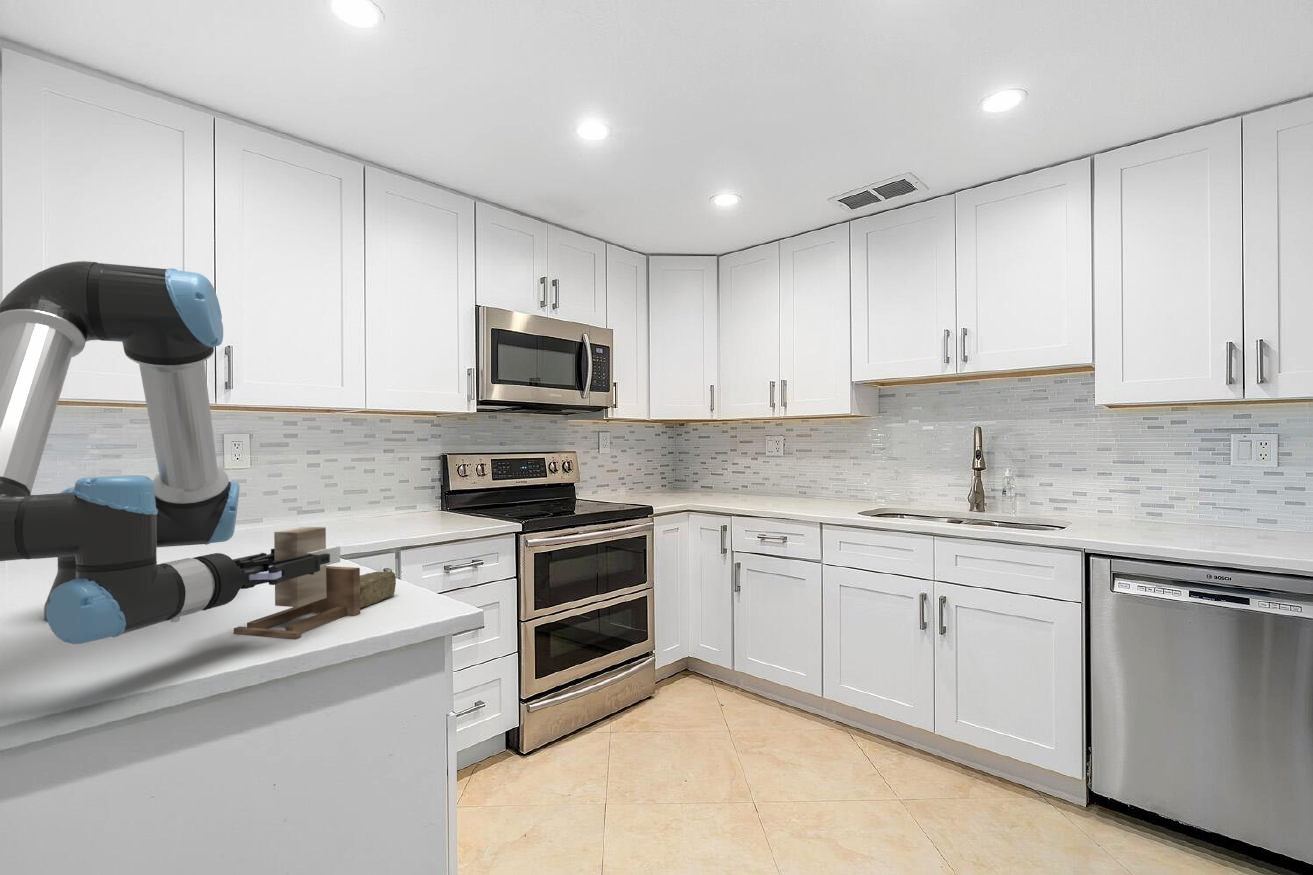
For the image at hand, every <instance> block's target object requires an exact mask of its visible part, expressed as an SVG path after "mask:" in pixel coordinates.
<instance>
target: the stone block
mask: <svg viewBox="0 0 1313 875" xmlns="http://www.w3.org/2000/svg"><path fill="white" fill-rule="evenodd" d="M396 578H397V576H396V573H395V572H393V571H373V572H368V573H364V574H361V575H360V609H363V608H365V607H366V608H367V607H369V606H371V605H373V604H377V603H379V602H381V600H382V601H384V600H386V598H387V599H389V598H391V597H393V596H394V595H395V592H396V580H397V579H396ZM383 599H384V600H383Z"/></svg>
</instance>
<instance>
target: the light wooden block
mask: <svg viewBox="0 0 1313 875" xmlns="http://www.w3.org/2000/svg"><path fill="white" fill-rule="evenodd" d="M326 530H327V528H326V527H324V526H322V527H321V526H318V527H317V526H301V527H297V528H289V529H285V530H284V529H283V530H279V531H278V530H277V531H274V532H273V533H274V535H273V536H274V537H273V539H274V544H273V545H274V546H273V547H274V548H273V549H274V552H275V560H281V559H287V558H292V557H298V556H303V555H307V553H309V552H314V551H318V550H322V549H327V545H326V544H327V535H326V534H327V531H326ZM325 598H327V593H326V566H323V567H320V571H318V572H314V574H313V575H311V574H307V575H303V576H300V577H296V578H292V579H289V580H285V581H282V582H280V583H278V584H275V585H274V606H275V607H287V608H288V607H289V608H292V607H300V606H303V605H306V604H309V603H312V602H315V601H318V600H322V599H325Z"/></svg>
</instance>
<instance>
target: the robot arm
mask: <svg viewBox="0 0 1313 875" xmlns="http://www.w3.org/2000/svg"><path fill="white" fill-rule="evenodd" d="M222 319H223V315H222V311H221V307H220V301H219V298H218V295H217V292H216V290H215V288H214V286H213V284H212V283H211V281H210V280H209V278H207V277H206V276H205V275H203V274H201V273H198V272H192V271H185V270H184V271H183V270H178V269H176V268H159V267H150V266H149V267H148V266H137V265H136V266H135V265H123V264H113V263H103V262H98V261H97V262H96V261H85V260H84V261H82V260H81V261H80V260H79V261H70V262H64V263H61V264H57V265H53V266H50V267H48V268H46V269H44V270H41V271H38V272H36V273H35V274H33V275H31V276H30V277H28V278H26V279H25V280H23V281H22V282H20V283H19V284H18V285H17V286H16V287H14V288H13V289H12V290H11V291H10V292H8V293H7V294H6V295H5V297H4V298H3V299H2V300H1V301H0V562H6V561H7V562H8V561H17V560H37V559H38V560H40V559H53V558H57V573H56V576H55V578H54V580H53V583H52V584H51V585H52V586H51V588H50V591H49V593H48V596H47V598H46V601H45V603H44V605H43V606H44V607H43V616H44V619H45V620H46V621H47V624H48V626H49V628H50V630H51V632H52V633H53V634H54V635H55V636H56V638H58V639H59V640H61V641H62V642H65V643H68V644H71V645H81V644H86V643H90V642H95V641H98V640H104V639H108V638H116V637H119V636H121V635H123V634H127V633H130V632H133V631H137V630H140V629H144V628H146V627H147V628H148V627H149V626H152V625H156V624H159V623H163V622H166V621H167V622H168V621H170V623H177V622H179V621H180V618H181V617H183V616H188V615H192V614H195V613H198V612H200V611H207V610H210V609H211V610H212V609H214V608H217V607H218V608H219V607H221V606H224V605H228V604H229V603H230V602H232V601H233V600H234V599H235V598H236V596H237V594H238V593H239V591H240V590H247V589H251V588H254V587H256V586H258V585H262V584H268V585H269V586H275V584H278V583H280V582H282V581H285V580H289V579H292V578H296V577H300V576H303V575H307V574H311V575H313V574H314V572H318V571H320V567H323V566H331V565H334V564H337V563H341V546H339V545H337V546H331V547H328V548H327V547H326V549H322V550H318V551H314V552H309V553H307V555H303V556H298V557H292V558H287V559H281V560H275V552H274V548H270V553H266V552H260V553H257V554H253V555H248V556H243V557H238V558H231V557H230V556H229V555H227V554H225V553H220V552H218V553H217V552H215V553H209V554H204V555H200V556H194V557H192V558H191V557H186V558H182V559H176V560H171V561H167V562H163V563H159V564H158V563H157V562H158V561H157V560H158V559H157V558H158V557H157V553H158V552H157V550H158V549H157V548H166V547H167V548H169V547H181V546H197V545H199V546H200V545H206V546H207V545H210V544H214V543H224V542H227V541H228V540H229V541H230V539H232V537H233V536H234V533H235V531H236V530H235V528H236V522H237V514H238V506H239V505H238V504H239V498H240V483H239V482H235V481H233V480H232V481H230V479H229V475H228V473H227V472H226V471H224V470H223V469H222V468H220V467H218V462H217V454H216V447H215V446H216V445H215V438H214V430H213V422H212V415H211V414H212V413H211V405H210V397H209V390H208V389H209V388H208V381H207V372H206V366H205V361H207V360H208V359H210V358H211V357H212V356H213V355H214V352H215V347H218V346H220V345H222V343H223V340H224V325H223V321H222ZM90 341H104V342H105V341H106V342H121V344H122V346H123V351H124V354H125V356H126V357H127V358H128V359H129V360H131V361H132V362H135V363H137V364H138V365H139V366H138V367H139V370H140V372H139V373H140V376H141V381H142V387H143V393H144V399H145V404H146V410H147V415H148V420H149V427H150V431H151V436H152V441H153V442H152V443H153V447H154V448H153V449H154V454H155V459H156V463H157V470H158V475H156V476H155V477H154V478H153V480H152V478H150V477H148V476H147V475H136V474H135V475H132V474H131V475H130V474H129V475H108V476H107V475H106V476H104V475H103V476H88V477H87V476H85V477H81V478H79V479H77V480H76V482H75V484H74V487H68V488H65V489H63V490H62V491H61V492H59V493H45V494H32V491H33V487H34V483H35V481H36V477H37V475H38V472H39V471H38V470H39V467H40V464H41V460H42V456H43V454H44V450H45V447H46V444H47V441H48V437H49V433H50V430H51V427H52V425H53V422H54V421H53V420H54V417H55V414H56V410H57V407H58V403H59V399H60V397H61V393H62V390H63V387H64V383H65V380H66V376H67V374H68V370H69V366H70V364H71V360H72V358H74V357H76V356H78V355H80V354H81V352H83V350H84V348H85V346H86V343H87V342H90Z"/></svg>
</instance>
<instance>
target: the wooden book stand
mask: <svg viewBox="0 0 1313 875" xmlns="http://www.w3.org/2000/svg"><path fill="white" fill-rule="evenodd" d="M360 569H361V568H360V567H351V566H349V567H348V566H334V565H333V566H331V565H327V566H326V593H327V598H325V599H322V600H318V601H315V602H312V603H309V604H306V605H303V606H300V607H289V608H287V609H284V610H280V611H278V612H274V613H270V614H269V615H267V616H262V617H260V618H257V619H254V620H251V621H248V622H246V626H242V625H241V626H240V625H239V626H237V627H234V628H233V634H237V635H248V636H258V637H259V636H260V637H270V638H277V639H278V638H281V639H289V640H290V639H291V640H298V639H299V638H301V637H302V634H303V633H306V632H308V631H310V630H314V629H315V628H318V627H321V626H323V625H326V624H328V623H331V622H333V621H336V620H339V619H341V618H344V617H347V616H349V617H355V616H357V615H360V614H361V608H360V574H361V570H360ZM311 612H313V613H311ZM308 614H314V615H312V616H309V617H306V618H304V619H301V620H298V621H296V622H293V623H290V624H287V625H285V629H272V627H274V626H277V625H280V624H283V623H286V622H288V621H289V622H290V621H292V620H295V619H297V618H300V617H302V616H305V615H308ZM294 618H295V619H294ZM338 618H339V619H338Z"/></svg>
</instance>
